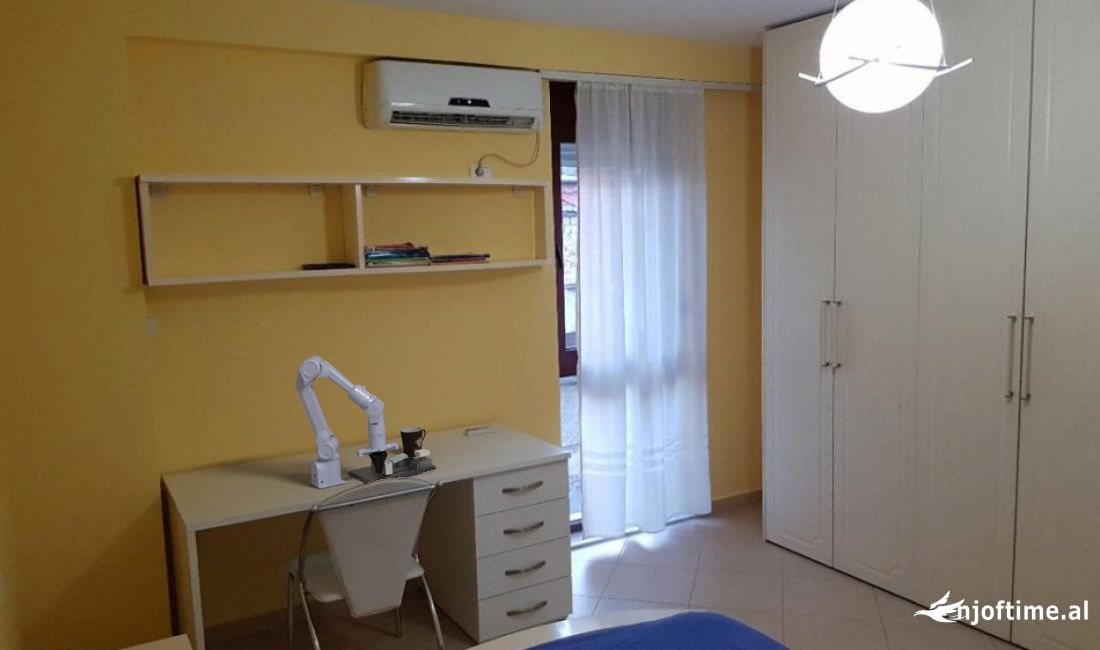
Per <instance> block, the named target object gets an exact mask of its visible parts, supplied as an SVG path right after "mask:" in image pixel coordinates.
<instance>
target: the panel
mask: <svg viewBox="0 0 1100 650" xmlns="http://www.w3.org/2000/svg"><path fill="white" fill-rule="evenodd" d="M386 460H388V459H387V458H386ZM388 461H389V460H388ZM435 469H436V470H437V466H436V465H433V458H430V457H428V456H425V460H420V457H407V458H405V459H403V460H401V461H398V462H396V463H394V464H392V473H393V474H388V475H385V474H383V473H381V474H378V473H376V470H375V467H374V464H373V462H372V460H370V466H364V467H360V468H355V469H350V470H348V475H349V476H350V475H351V476H350V477H352V476H353V478H354V477H355V479H356V480H359V479H360V480H359V481H360V482H363V483H365V482H373V481H376V480H380V479H387V478H398V477H407V478H410V477H416V476H418V475H417V474H419V475H421V474H420V473H423V472H427V471H431V470H435ZM423 474H424V473H423Z"/></svg>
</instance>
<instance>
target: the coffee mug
mask: <svg viewBox="0 0 1100 650" xmlns="http://www.w3.org/2000/svg"><path fill="white" fill-rule="evenodd" d="M399 432H400V437H401V443H402V448H403V453H404V454H406V455H407V456H408V457H407V458H409V457H413V458H417V457H416V455H415V454H414V451H416V450H421V449H423V441H424V440H425V437H426V435H427V432H426V430H425V428H423V427H420V426H409V427H404V428H403V427H402V428H401V429H399ZM423 433H424V434H423Z"/></svg>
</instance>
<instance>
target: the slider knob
mask: <svg viewBox="0 0 1100 650" xmlns="http://www.w3.org/2000/svg"><path fill="white" fill-rule="evenodd" d="M382 473H383V474H385V475H388V474H393V473H392V462H390V461H388V459H387V460H385V462H384V466H383V471H382Z"/></svg>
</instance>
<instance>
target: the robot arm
mask: <svg viewBox="0 0 1100 650" xmlns="http://www.w3.org/2000/svg"><path fill="white" fill-rule="evenodd" d="M317 377H318V378H319V379H329V380H330V381H332V383H335V384H336V385H337V386H338V387H339V388H341V389H342V390H343V391H345V392H346V393H347V397H348V399H349V400H350V401H351V402H352V403H354V404H355V405H357V406H358V407H359V408H360V409H362V410H364V412H365V415H366V416H367V422H366V423H367V434H368V435H367V437H368V446H367V447H365V448H361V449H358V450H356V456H357V457H358V458H361V457H363V456H368V457H369V458H370V461H372V462H373V464H374V467H375V470H376V473H378V474H381V473H382V471H383V466H384V462H385V460H386V459H387V457H388V456H389V453H388V451H393V450H399V443H397V442H391V443H386V442H387V441H386V428H385V427H386V426H385V415H384V410H385V403H384V402H383V401H382V400H381V398H378V397H377V396H376V395H375V394H374V395H372V394H371V393H370V392H369V391H368V390H366V389H367V388H366V386H364V385H362V386H361V385H360V384H354V383H352V382H351V381H350V380H349V379H348V378H347V377H346V376H344V375H343V374H342V373H341V372H340V371H338V369H336V368H335V367H334V366H333V365H332V364H331V363H330V362H328V361H327V360H324V359H323V358H322V356H319V355H317V354H316V355H311V356H309V357H308V358H307V359H306V360H304V361H303V362H302V363H301V364H300V366H299V368H298V370H297V378H296V381H295V388H296V392H297V394H298V396H299V399H300V401H301V404H302V406H303V409H304V411H305V414H306V416H307V419H308V421H309V423H310V426H311V428H312V431H313V433H314V441H315V442H314V443H315V445H316V455H317V456H318V457H317V459H316V460H313V461H311V463H310V474H311V483H310V484H311V485H313V486H314V487H316V488H317V489H326V488H329V487H334V486H339V485H343V484H346V483H347V481H346V480H344V479H342V471H341V469H342V468H341V457H340V456H341V455H340V454H339V453H338V450H339V449H340V446H341V445H340V441H339V439H338V438H337V437H336V436H335V435H334V433H333V431H332V430H331V429H330V427H329V425H328V423H327V421H326V417H325V416H324V415H325V414H324V412H323V409H322V407H321V405H320V403H319V400H318V398H317V395H316V393H315V390H314V388H313V385H314V382H315V380H316V379H317Z"/></svg>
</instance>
